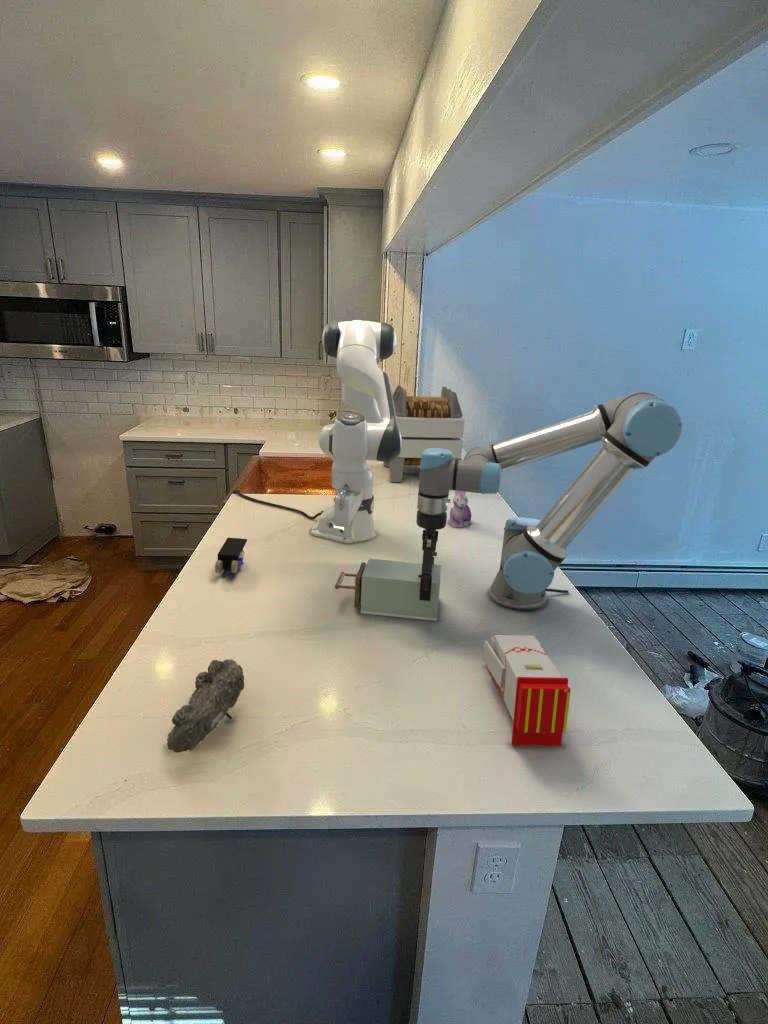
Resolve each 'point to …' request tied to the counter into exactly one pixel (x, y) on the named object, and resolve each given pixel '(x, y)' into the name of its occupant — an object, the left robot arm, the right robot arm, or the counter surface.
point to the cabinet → (398, 590)
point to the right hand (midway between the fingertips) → (426, 589)
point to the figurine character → (230, 556)
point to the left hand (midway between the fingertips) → (348, 531)
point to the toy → (529, 689)
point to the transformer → (426, 427)
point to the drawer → (357, 583)
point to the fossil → (206, 705)
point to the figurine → (460, 510)
